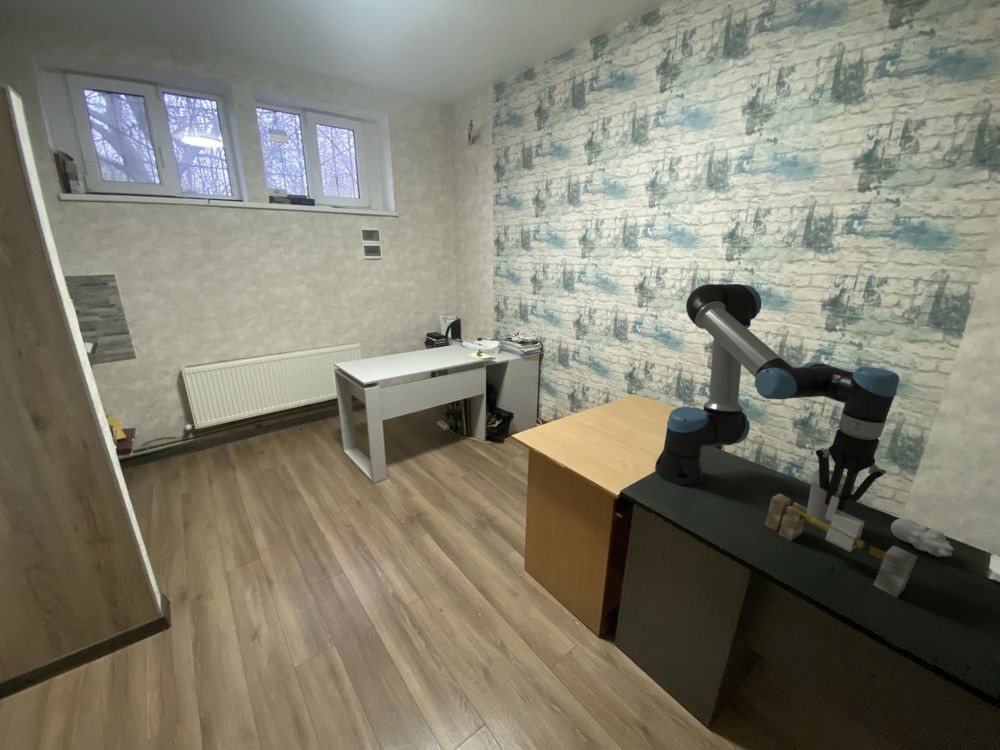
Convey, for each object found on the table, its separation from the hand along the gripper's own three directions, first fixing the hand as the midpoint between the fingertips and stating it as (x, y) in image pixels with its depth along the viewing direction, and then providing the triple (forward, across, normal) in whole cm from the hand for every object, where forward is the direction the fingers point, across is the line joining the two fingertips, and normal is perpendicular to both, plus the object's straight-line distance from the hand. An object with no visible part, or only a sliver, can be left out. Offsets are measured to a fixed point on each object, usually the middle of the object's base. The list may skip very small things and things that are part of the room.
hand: (830, 518), depth 98 cm
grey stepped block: (+5, +3, 0) cm, 6 cm away
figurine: (+10, +12, +25) cm, 30 cm away
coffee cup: (+10, -5, +14) cm, 18 cm away
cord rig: (+10, +2, 0) cm, 10 cm away
